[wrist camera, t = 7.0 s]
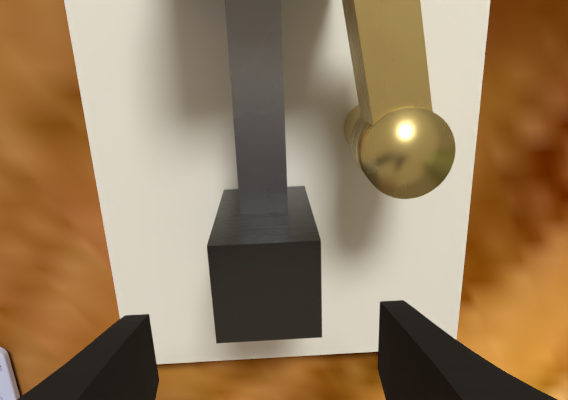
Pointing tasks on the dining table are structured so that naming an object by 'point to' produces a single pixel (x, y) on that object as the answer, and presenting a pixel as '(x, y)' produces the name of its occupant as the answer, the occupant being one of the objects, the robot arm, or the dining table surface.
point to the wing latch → (395, 100)
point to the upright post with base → (262, 200)
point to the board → (299, 161)
